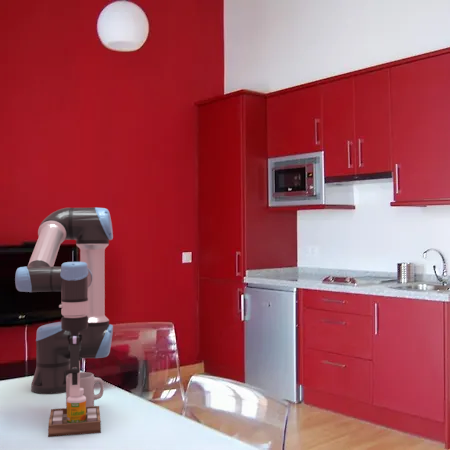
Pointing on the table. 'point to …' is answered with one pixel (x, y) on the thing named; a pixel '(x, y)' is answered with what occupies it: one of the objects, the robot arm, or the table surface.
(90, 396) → the mug
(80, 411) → the supplement bottle
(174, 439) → the table surface
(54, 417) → the walled box
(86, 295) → the robot arm
